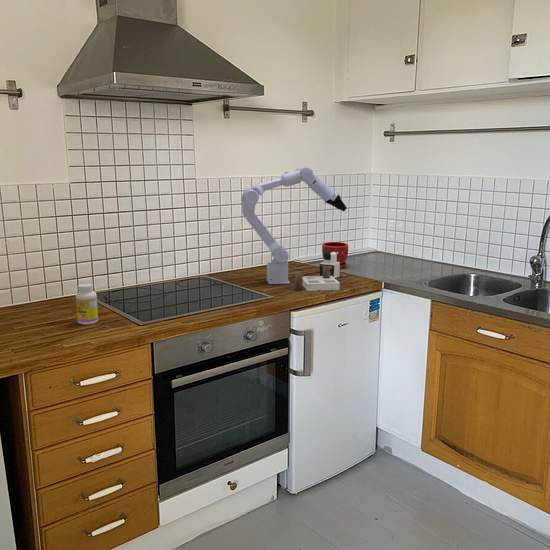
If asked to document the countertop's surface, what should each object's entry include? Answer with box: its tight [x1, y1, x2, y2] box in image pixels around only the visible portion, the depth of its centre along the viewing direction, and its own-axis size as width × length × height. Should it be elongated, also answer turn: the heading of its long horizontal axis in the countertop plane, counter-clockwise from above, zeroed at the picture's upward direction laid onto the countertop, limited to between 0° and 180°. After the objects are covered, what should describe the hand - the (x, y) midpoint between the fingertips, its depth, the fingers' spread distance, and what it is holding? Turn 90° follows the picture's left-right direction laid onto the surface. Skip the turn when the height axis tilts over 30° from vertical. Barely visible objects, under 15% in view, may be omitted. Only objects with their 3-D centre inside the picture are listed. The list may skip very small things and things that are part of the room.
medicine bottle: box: [319, 252, 341, 279], centre depth 255 cm, size 7×7×12 cm
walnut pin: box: [294, 272, 304, 292], centre depth 232 cm, size 3×3×7 cm
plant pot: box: [321, 241, 349, 269], centre depth 280 cm, size 13×13×12 cm
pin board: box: [302, 266, 341, 292], centre depth 238 cm, size 14×14×8 cm
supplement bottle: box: [75, 283, 99, 326], centre depth 185 cm, size 7×7×13 cm
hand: (343, 208), depth 243 cm, fingers open, 7 cm apart
